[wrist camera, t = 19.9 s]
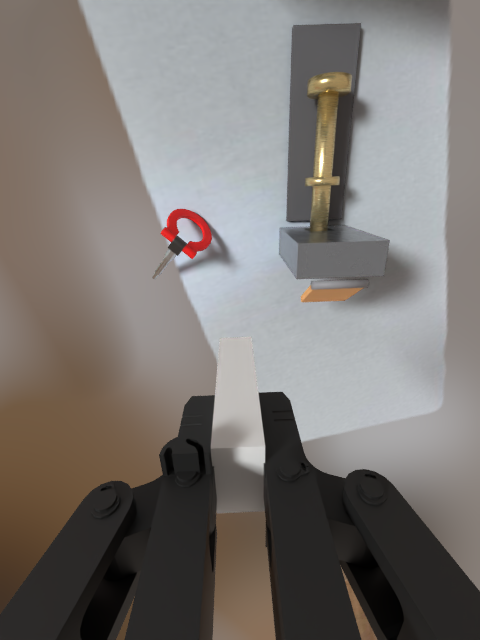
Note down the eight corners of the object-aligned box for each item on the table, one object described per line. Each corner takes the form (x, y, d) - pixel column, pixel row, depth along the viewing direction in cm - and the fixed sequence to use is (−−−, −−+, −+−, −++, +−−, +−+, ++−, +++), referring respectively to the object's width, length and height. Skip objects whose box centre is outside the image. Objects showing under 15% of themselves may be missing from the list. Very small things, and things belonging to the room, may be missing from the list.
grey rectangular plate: (279, 227, 45) (298, 243, 32) (345, 225, 45) (389, 240, 33) (279, 254, 47) (296, 279, 34) (342, 251, 47) (383, 275, 34)
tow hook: (219, 230, 45) (199, 259, 40) (189, 265, 52) (169, 293, 48) (183, 199, 43) (157, 226, 38) (157, 240, 50) (133, 266, 46)
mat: (292, 28, 36) (293, 25, 35) (358, 26, 36) (361, 23, 35) (286, 220, 45) (287, 221, 44) (339, 218, 45) (341, 219, 44)
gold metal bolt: (303, 86, 37) (313, 72, 33) (343, 85, 37) (358, 71, 33) (296, 237, 45) (304, 242, 40) (330, 236, 45) (341, 241, 40)
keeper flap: (313, 288, 34) (299, 302, 41) (369, 286, 34) (346, 301, 41) (312, 279, 34) (299, 295, 41) (368, 277, 34) (345, 294, 41)
